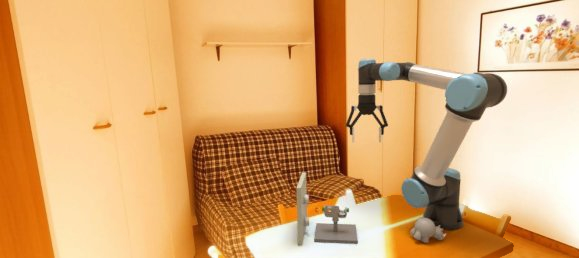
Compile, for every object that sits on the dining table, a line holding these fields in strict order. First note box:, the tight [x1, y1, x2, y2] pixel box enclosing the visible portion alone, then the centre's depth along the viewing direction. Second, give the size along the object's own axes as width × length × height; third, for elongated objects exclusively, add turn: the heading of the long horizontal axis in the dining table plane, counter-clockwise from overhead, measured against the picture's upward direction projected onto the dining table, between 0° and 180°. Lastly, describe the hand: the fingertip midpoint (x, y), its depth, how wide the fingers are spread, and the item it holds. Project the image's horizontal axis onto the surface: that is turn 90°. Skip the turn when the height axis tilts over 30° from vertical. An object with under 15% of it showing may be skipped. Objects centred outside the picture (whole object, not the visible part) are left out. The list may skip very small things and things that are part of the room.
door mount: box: [296, 172, 359, 246], centre depth 131 cm, size 22×20×22 cm
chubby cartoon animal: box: [410, 217, 447, 244], centre depth 125 cm, size 7×12×8 cm, turn 87°
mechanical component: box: [321, 204, 350, 232], centre depth 132 cm, size 3×10×10 cm, turn 78°
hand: (366, 141), depth 155 cm, fingers open, 11 cm apart
